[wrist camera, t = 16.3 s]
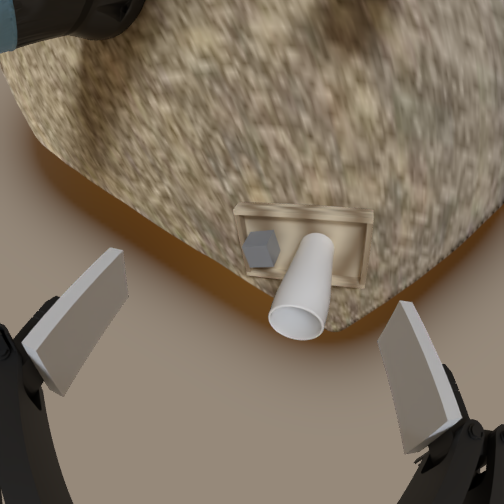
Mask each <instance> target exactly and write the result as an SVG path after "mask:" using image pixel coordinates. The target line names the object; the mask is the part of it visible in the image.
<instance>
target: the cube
mask: <svg viewBox="0 0 504 504" xmlns="http://www.w3.org/2000/svg"><path fill="white" fill-rule="evenodd" d="M242 249H243V252H244V254H245V257H246V259H247V262H248V264H249V266H250V268H254V267H274V265H275V263H276V261H277V258H278V256H279V253H280V251H281V250H280V247H279V244H278V241H277V238H276V235H275V232H274V230H266V231H255V232H250V234H249V235H248V237H247V239H246V240H245V242H244V244H243V245H242Z"/></svg>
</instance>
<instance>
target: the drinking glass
mask: <svg viewBox="0 0 504 504" xmlns="http://www.w3.org/2000/svg"><path fill="white" fill-rule="evenodd" d="M333 256H334V244H333V242H332V240H331V239H330V238H329V237H328V236H326V235H324V234H321V233H310V234H307V235H306V236H304V237H303V239H302V240H301V242H300V245H299V247H298V250H297V252H296V254H295V256H294V258H293V260H292V262H291V264H290V266H289V268H288V270H287V272H286V274H285V276H284V278H283V279H282V281H281V283H280V285H279V288H278V290H277V292H276V294H275V297H274V300H273V302H272V306H271V308H270V312H269V315H268V319H269V323H270V324H271V326H272V327H273V328H274V329H275V330H276V331H277V332H279V333H280V334H282V335H284V336H286V337H288V338H292V339H296V340H310V339H314V338H316V337H318V336H319V335H320V334H321V333H322V332H323V330H324V326H325V323H326V319H327V315H328V310H329V305H330V297H331V284H332V269H333Z"/></svg>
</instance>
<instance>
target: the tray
mask: <svg viewBox="0 0 504 504" xmlns="http://www.w3.org/2000/svg"><path fill="white" fill-rule="evenodd" d="M233 213H234V217H235V222H236V226H237V231H238V236H239V240H240V245H241V249H242V245H243V244H244V242H245V240H246V239H247V237H248V235H249V234H250V232H255V231H266V230H274V232H275V235H276V238H277V241H278V244H279V247H280V250H281V251H280V253H279V256H278V258H277V261H276V263H275V265H274V267H254V268H250V266H249V264H248V262H247V259H246V257H245V254H244V252H243V249H242V254H243V258H244V263H245V267H246V272H247V275H249V276H257V277H265V278H273V279H281V280H282V279H283V278H284V276H285V274H286V272H287V270H288V268H289V266H290V264H291V262H292V260H293V258H294V256H295V254H296V252H297V250H298V247H299V245H300V242H301V240H302V239H303V237H304V236H306V235H307V234H310V233H321V234H324V235H326V236H328V237H329V238H330V239H331V240H332V242H333V244H334V256H333V269H332V284H331V285H334V286H343V287H353V288H362V289H364V287H365V281H366V275H367V268H368V262H369V255H370V247H371V239H372V231H373V221H374V214H373V210H372V209H360V208H347V207H333V206H317V205H299V204H277V203H248V202H239V203H238V204H237V205H236V207H235V208H234V209H233Z"/></svg>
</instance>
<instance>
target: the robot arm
mask: <svg viewBox="0 0 504 504" xmlns="http://www.w3.org/2000/svg"><path fill="white" fill-rule="evenodd" d="M144 1H145V0H0V53H3V52H7V51H13V50H15V49H17V48H20V47H23V46H26V45H29V44H33V43H37V42H40V41H44V40H48V39H52V38H57V37H61V36H67V35H70V36H75V37H79V38H84V39H88V40H103V39H109V38H113V37H115V36H117V35H119V34H120V33H122V32H123V31H124V30H125V29H127V28H128V27H129V26H130V25H131V23H132V22H133V21H134V20H135V18H136V17H137V15H138V14H139V12H140V10H141V8H142V6H143V3H144ZM126 281H127V280H126V272H125V262H124V252H123V250H119V249H115V248H111V247H110V248H109V249H108V250H107V251H106V252H105V253H104V254H103V255H102V256H100V257H99V258H98V259H97V260H96V261H95V262H94V263H93V264H92V265H91V266H90V267H89V268H88V269H87V270H86V271H85V272H84V273H83V274H82V275H81V276H80V277H79V278H78V279H77V280H76V281H75V282H74V284H72V285H71V287H70V288H69V289H68V290H67V291H66V292H65V293H64V294H63V295H62V296H61V297H58V296H55V297H53V298H52V299H50V300H48V301H46V302H45V304H44V305H43V306H42V307H41V308H40V309H39V311H37V312H36V314H35V315H34V316H33V318H31V319H30V320H29V321H28V323H27V324H26V325H25V326H24V327H23V328H22V329H21V331H20V332H19V333H18V334H17V335H16V337H15V338H14V339H12V337H11V335H10V333H9V331H8V329H7V328H6V327H5V325H2V324H0V504H2V495H1V490H2V494H3V497H4V501H5V504H73V502H72V500H71V497H70V495H69V492H68V489H67V487H66V484H65V481H64V478H63V476H62V472H61V469H60V466H59V463H58V459H57V456H56V452H55V449H54V445H53V441H52V437H51V432H50V428H49V423H48V419H47V413H46V407H45V401H44V395H43V390H42V387H41V385H42V383H43V381H44V382H45V383H46V385H47V386H48V388H49V389H50V390H52V391H53V392H55V393H57V394H59V395H61V396H63V397H64V396H65V394H66V392H67V390H68V389H69V387H70V385H71V384H72V382H73V380H74V379H75V377H76V375H77V374H78V372H79V370H80V369H81V367H82V365H83V364H84V362H85V361H86V359H87V357H88V356H89V354H90V353H91V351H92V350H93V348H94V347H95V345H96V344H97V342H98V340H99V339H100V337H101V336H102V335H103V333H104V331H105V330H106V329H107V327H108V325H109V324H110V323H111V321H112V320H113V318H114V317H115V315H116V314H117V312H118V311H119V310H120V308H121V307H122V305H123V304H124V303H125V301H126V300H127V298H128V297H129V295H128V288H127V282H126ZM377 342H378V345H379V349H380V352H381V356H382V359H383V363H384V366H385V370H386V374H387V377H388V381H389V385H390V389H391V393H392V397H393V401H394V405H395V410H396V414H397V419H398V423H399V428H400V433H401V438H402V443H403V449H404V454H410V453H415V452H420V451H421V450H422V449H424V448H425V447H427V446H428V447H429V451H428V452H427V453H425V454H424V455H422V456H421V457H419V458H418V459H416V460H415V462H414V463H415V464H416V463H417V462H419V461H421V460H422V461H421V463H420V464H419V465H418V466H419V467H418V469H417V471H416V473H415V474H414V476H413V478H412V480H411V482H410V483H409V485H408V487H407V489H406V490H405V492H404V494H403V495H402V497H401V499H400V500H399V501H398V503H397V504H504V424H501V425H500V426H498V427H497V428H496V429H495V430H494V431H490V430H484V429H483V427H482V425H481V424H480V423H479V422H478V421H476V420H473V419H470V418H469V416H468V413H467V410H466V407H465V405H464V402H463V399H462V397H461V394H460V392H459V391H458V390H459V389H458V386H457V384H455V382H456V381H455V379H454V377H453V374H452V372H451V371H450V370H449V368H448V367H447V366H446V365H445V364H441V362H440V359H439V357H438V354H437V352H436V350H435V348H434V346H433V343H432V341H431V339H430V337H429V335H428V333H427V331H426V329H425V327H424V325H423V323H422V321H421V319H420V317H419V315H418V313H417V311H416V309H415V307H414V305H413V303H412V302H406V301H399V303H398V305H397V307H396V309H395V311H394V312H393V314H392V316H391V318H390V320H389V322H388V323H387V325H386V327H385V329H384V330H383V333H382V334H381V336H380V338H379V339H378V341H377ZM486 464H487V465H486ZM485 465H486V471H484V472H482V473H480V468H482V467H483V466H485Z"/></svg>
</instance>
